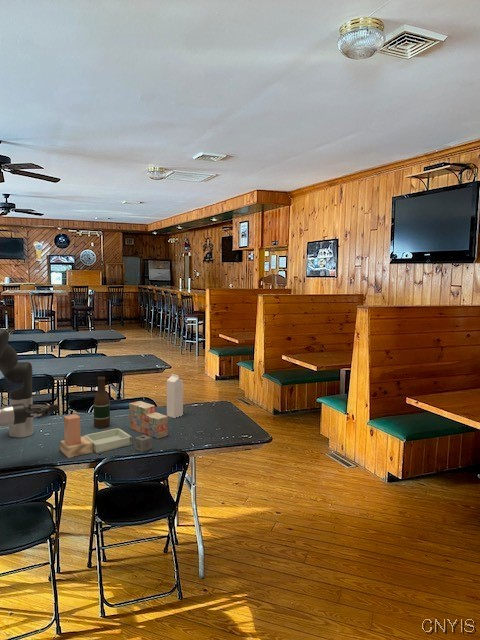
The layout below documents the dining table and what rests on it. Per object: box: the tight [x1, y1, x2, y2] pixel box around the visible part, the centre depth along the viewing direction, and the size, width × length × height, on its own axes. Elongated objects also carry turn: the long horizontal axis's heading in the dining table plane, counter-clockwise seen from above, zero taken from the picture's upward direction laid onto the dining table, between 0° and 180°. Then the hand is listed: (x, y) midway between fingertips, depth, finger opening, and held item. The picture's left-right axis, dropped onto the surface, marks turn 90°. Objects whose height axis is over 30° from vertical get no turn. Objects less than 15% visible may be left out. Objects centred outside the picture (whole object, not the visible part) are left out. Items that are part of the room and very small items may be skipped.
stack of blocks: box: [128, 400, 169, 440], centre depth 215 cm, size 21×6×12 cm, turn 48°
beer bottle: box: [93, 376, 111, 429], centre depth 221 cm, size 8×8×24 cm
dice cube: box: [134, 434, 153, 453], centre depth 195 cm, size 5×5×5 cm
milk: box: [166, 373, 184, 419], centre depth 238 cm, size 6×6×22 cm
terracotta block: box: [63, 413, 82, 446], centre depth 189 cm, size 5×5×11 cm
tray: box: [83, 427, 133, 454], centre depth 199 cm, size 16×14×4 cm
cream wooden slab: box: [59, 435, 94, 459], centre depth 191 cm, size 10×10×4 cm
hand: (57, 407), depth 185 cm, fingers closed
